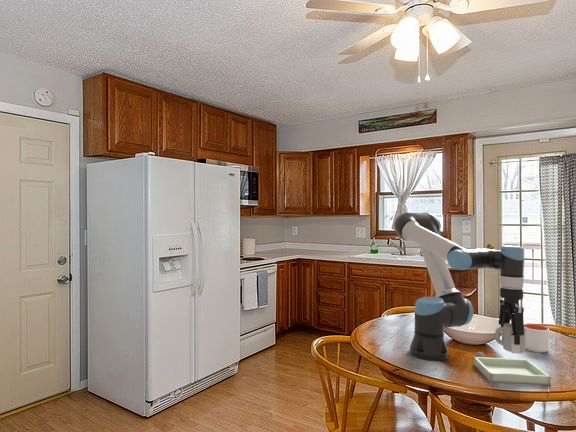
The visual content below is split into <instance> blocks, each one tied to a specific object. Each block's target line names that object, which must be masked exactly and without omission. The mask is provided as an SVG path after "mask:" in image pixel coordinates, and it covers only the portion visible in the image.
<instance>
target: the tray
mask: <svg viewBox="0 0 576 432" xmlns="http://www.w3.org/2000/svg"><path fill="white" fill-rule="evenodd" d="M473 366H474V367H475V368H476V369H477V370H478V371H479V372H480V373H482V375H483V376H484V377H485V378H486V379H487V380H488V381H489V382H490V383H500V384H501V383H502V384H503V383H504V384H520V385H521V384H523V385H537V384H542V385H541V386H551V380H552V379H551V375H549V374H548V373H546V372H545V371H543V370H542V369H541V368H539V367H538V366H537V365H536V364H534V363H533V362H531V361H530V360H529V359H523V358H506V357H505V358H503V357H486V356H485V357H475V356H473Z"/></svg>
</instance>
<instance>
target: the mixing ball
mask: <svg viewBox="0 0 576 432" xmlns="http://www.w3.org/2000/svg"><path fill="white" fill-rule="evenodd" d="M474 357H486V355H485V354H484V352H482V351H479V352H476V353H475V355H474Z"/></svg>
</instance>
